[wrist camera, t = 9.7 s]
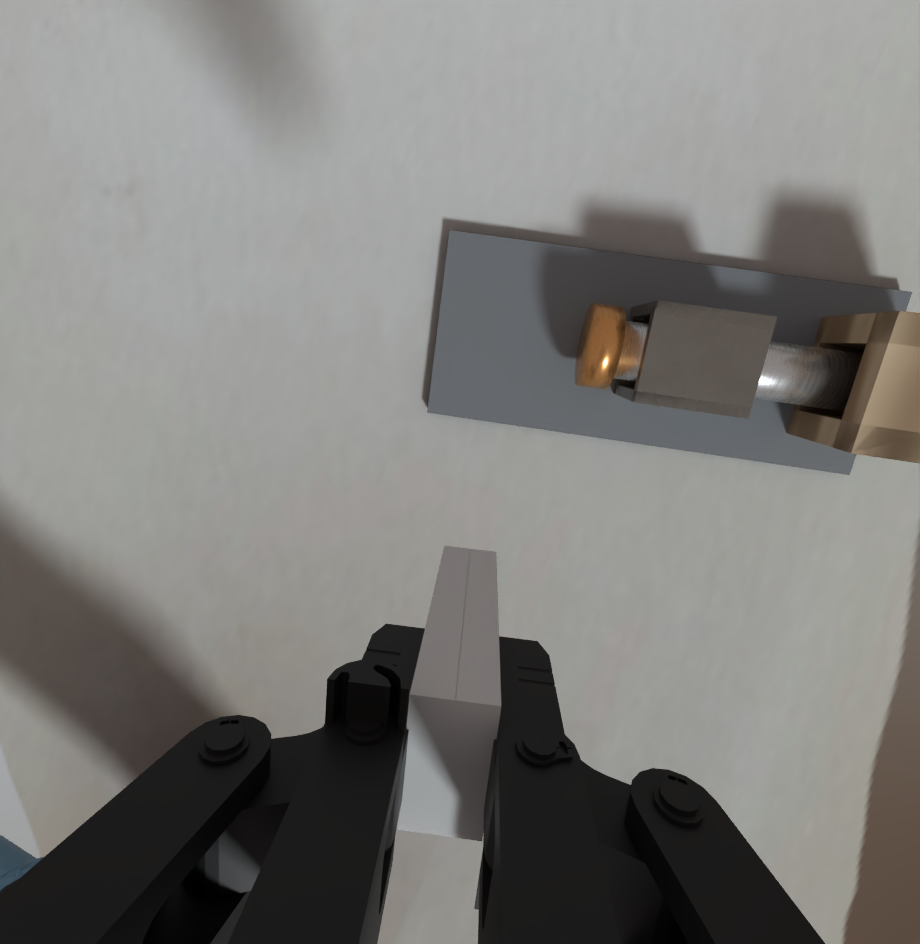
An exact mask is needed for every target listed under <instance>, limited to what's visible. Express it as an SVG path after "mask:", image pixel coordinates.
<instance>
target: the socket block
mask: <svg viewBox="0 0 920 944" xmlns="http://www.w3.org/2000/svg"><path fill="white" fill-rule="evenodd" d="M813 347H818V348H825V349H832V350H839V351H846V352H854V353H861V354H863V356H862V359H861V362H860V365H859V368H858V371H857V374H856V377H855V380H854V383H853V386H852V389H851V392H850V396H849V399H848V402H847V405H846V408H845V411H838V410H831V409H824V408H817V407H810V406H803V405H796V404H795V407H794V410H793V414H792V417H791V420H790V424H789V427H788V430H787V434H790V435H794V436H797V437H800V438H803V439H807V440H810V441H813V442H816V443H820V444H823V445H826V446H829V447H832V448H836V449H839V450H842V451H845V452H849V453H853V454H860V455H867V456H873V457H880V458H887V459H894V460H901V461H907V462H914V463H920V313H914V312H906V311H889V312H877V313H865V314H854V315H842V316H830V317H822V319H821V322H820V325H819V328H818V332H817V335H816V338H815V341H814V345H813Z"/></svg>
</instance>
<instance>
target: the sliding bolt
mask: <svg viewBox="0 0 920 944" xmlns="http://www.w3.org/2000/svg"><path fill="white" fill-rule="evenodd" d="M648 325H649V324H645V323H638V322H631V321H626V314H625V309H624V308H623V307H620V306H613V305H606V304H598V303H592V304H591V305H590V307H589V309H588V311H587V314H586V317H585V320H584V323H583V327H582V331H581V335H580V339H579V344H578V350H577V356H576V364H575V384H576V385H577V386H584V387H591V388H598V389H607V388H608V387H609V386H610V384H611V382H612V380H613V378H615V379H622V380H629V381H636V379H637V374H638V370H639V365H640V361H641V356H642V352H643V347H644V343H645V338H646V334H647V329H648ZM862 356H863V354H861V353H854V352H846V351H839V350H832V349H825V348H818V347H810V346H803V345H796V344H789V343H782V342H774V341H770V345H769V348H768V352H767V355H766V359H765V363H764V366H763V370H762V373H761V377H760V380H759V384H758V387H757V391H756V394H755V398H754V399H761V400H768V401H775V402H782V403H789V404H796V405H803V406H810V407H817V408H824V409H831V410H838V411H845V408H846V405H847V402H848V399H849V396H850V392H851V389H852V386H853V383H854V380H855V377H856V374H857V371H858V368H859V365H860V362H861V359H862Z"/></svg>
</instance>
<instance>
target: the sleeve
mask: <svg viewBox="0 0 920 944" xmlns="http://www.w3.org/2000/svg"><path fill="white" fill-rule="evenodd" d="M776 320H777V316H769V315H762V314H755V313H748V312H740V311H733V310H726V309H718V308H711V307H704V306H696V305H689V304H682V303H675V302H667V301H660V300H656V301H652V302H649V303H645V304H642V305H638V306H634V307H632V308H631V313H630V318H629V321H631V322H638V323H645V324H649V325H648V329H647V334H646V338H645V343H644V347H643V352H642V356H641V361H640V365H639V370H638V374H637V379H636V381H629V380H622V379H616V383H615V388H614V394H616V395H618V396H621V397H623V398H625V399H628V400H630V401H632V402H635V403H642V404H649V405H656V406H663V407H669V408H676V409H683V410H690V411H697V412H704V413H711V414H718V415H725V416H732V417H738V418H745V419H749V415H750V412H751V408H752V405H753V401H754V398H755V394H756V391H757V387H758V384H759V380H760V377H761V373H762V370H763V366H764V363H765V359H766V355H767V352H768V348H769V345H770V341H771V338H772V334H773V331H774V327H775V324H776Z"/></svg>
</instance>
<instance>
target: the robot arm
mask: <svg viewBox="0 0 920 944" xmlns="http://www.w3.org/2000/svg"><path fill="white" fill-rule="evenodd" d="M554 684H555V683H554V678H553V674H552V668H551V663H550V658H549V655H548V654H547V652H546V651H545V650H544V649H543V647H542V646H541V645H540V644H539V643H538V641H531V640H523V639H515V638H507V637H500V636H499V622H498V592H497V563H496V552H492V551H483V550H475V549H467V548H459V547H450V546H444V550H443V554H442V558H441V563H440V567H439V571H438V575H437V580H436V584H435V588H434V592H433V597H432V601H431V605H430V610H429V614H428V618H427V622H426V627H425V629H423V628H415V627H407V626H400V625H392V624H385V625H384V626H383V627H382V628H380V629H379V630H378V631H376V632H375V633H374V634H373V635H372V637H371V639H370V642H369V644H368V647H367V650H366V651H365V654H364V656H363V659H362V660H359V661H355V662H350V663H347V664H345V665H343V666H341V667H339V668H337V669H336V670H335V671H334V672H333V673H332V674H331V675H330V676H329V678H328V679H327V697H326V716H325V724H324V727H322V728H320V729H318V730H316V731H313V732H310V733H308V734H303V735H298V736H292V737H283V738H275V739H271V733H270V731H269V730H268V728H267V726H266V724H264V723H263V722H261V721H259V720H257V719H256V718H254V717H248V716H242V715H235V716H226V717H220V718H217V719H215V720H212V721H209V722H206V723H204V724H202V725H201V726H199V727H198V728H196V729H195V730H193V731H192V732H190V733H189V734H188V735H186V736H185V737H184V738H183V739H182V740H181V741H179V742H178V743H177V744H176V745H175V746H174V747H172V748H171V749H170V750H169V751H168V752H167V753H165V754H164V755H163V756H162V757H161V758H160V759H158V760H157V761H156V762H155V763H154V764H153V765H151V766H150V767H149V768H148V769H147V770H146V771H144V772H143V773H142V774H141V775H140V776H139V777H137V778H136V779H135V780H134V781H133V782H132V783H130V784H129V785H128V786H127V787H126V788H125V789H123V790H122V791H121V792H120V793H119V794H117V795H116V796H115V797H114V798H113V799H112V800H110V801H109V802H108V803H107V804H106V805H105V806H103V807H102V808H101V809H100V810H99V811H98V812H96V813H95V814H94V815H93V816H92V817H91V818H89V819H88V820H87V821H86V822H85V823H84V824H82V825H81V826H80V827H79V828H78V829H77V830H75V831H74V832H73V833H72V834H71V835H70V836H68V837H67V838H66V839H65V840H64V841H63V842H61V843H60V844H59V845H58V846H57V847H56V848H54V849H53V850H52V851H51V852H50V853H49V854H47V855H46V856H45V857H41V858H37V859H36V858H35V857H33V856H32V855H30V854H29V853H27V852H26V851H24V850H23V849H21V848H20V847H18V846H17V845H15V844H13V843H12V842H11V841H9V840H8V839H6V838H4V837H3V836H1V835H0V944H377V941H378V936H379V931H380V925H381V920H382V915H383V909H384V904H385V899H386V893H387V888H388V883H389V877H390V872H391V867H392V861H393V851H394V841H395V833H396V828H397V829H398V830H405V831H412V832H419V833H426V834H434V835H441V836H448V837H455V838H462V839H470V840H477V841H482V837H483V830H484V842H483V853H482V860H481V867H480V874H479V881H478V887H477V894H476V901H475V908H474V909H479V926H478V944H825V943H824V941H823V940H822V939H821V938H820V936H819V935H818V934H817V932H816V931H815V930H814V928H813V927H812V926H811V924H810V923H809V922H808V921H807V919H806V918H805V917H804V915H803V914H802V913H801V911H800V910H799V909H798V907H797V906H796V905H795V903H794V902H793V901H792V900H791V898H790V897H789V896H788V894H787V893H786V892H785V890H784V889H783V888H782V886H781V885H780V884H779V882H778V881H777V880H776V879H775V877H774V876H773V875H772V873H771V872H770V871H769V869H768V868H767V867H766V865H765V864H764V863H763V862H762V860H761V859H760V858H759V856H758V855H757V854H756V852H755V851H754V850H753V848H752V847H751V846H750V844H749V843H748V842H747V841H746V839H745V838H744V837H743V835H742V834H741V833H740V831H739V830H738V829H737V827H736V826H735V825H734V824H733V822H732V821H731V820H730V818H729V817H728V816H727V814H726V813H725V812H724V810H723V809H722V808H721V806H720V805H719V804H718V803H717V801H716V800H715V799H714V798H713V797H712V796H711V795H710V794H709V793H708V792H707V791H706V790H705V789H704V788H703V787H702V786H700V785H699V784H697V783H695V782H694V781H692V780H691V779H689V778H688V777H686V776H684V775H681V774H678V773H676V772H673V771H670V770H665V769H655V768H652V769H648V770H645V771H641V772H639V773H638V775H637V776H636V777H635V778H634V779H633V780H632V784H631V785H629V784H626V783H624V782H621V781H619V780H616V779H614V778H611V777H609V776H606V775H604V774H602V773H600V772H598V771H596V770H594V769H592V768H591V767H590V766H588V765H587V764H585V763H584V762H583V761H582V760H581V759H580V756H579V754H578V752H577V749H576V747H575V745H574V743H573V742H572V741H571V740H570V739H569V738H568V737H567V736H566V735H565V734H564V728H563V723H562V718H561V713H560V708H559V703H558V698H557V693H556V688H555V687H554Z"/></svg>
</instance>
